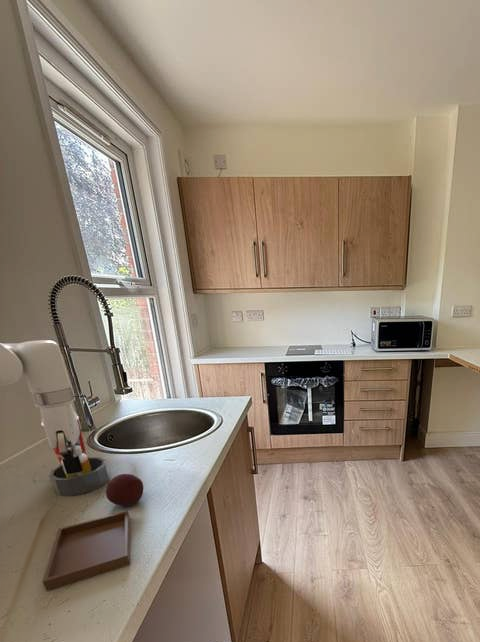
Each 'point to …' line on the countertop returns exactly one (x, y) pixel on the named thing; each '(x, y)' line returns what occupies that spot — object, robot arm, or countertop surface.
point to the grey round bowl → (80, 478)
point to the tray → (89, 550)
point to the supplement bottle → (83, 461)
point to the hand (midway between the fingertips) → (76, 466)
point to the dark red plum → (124, 489)
